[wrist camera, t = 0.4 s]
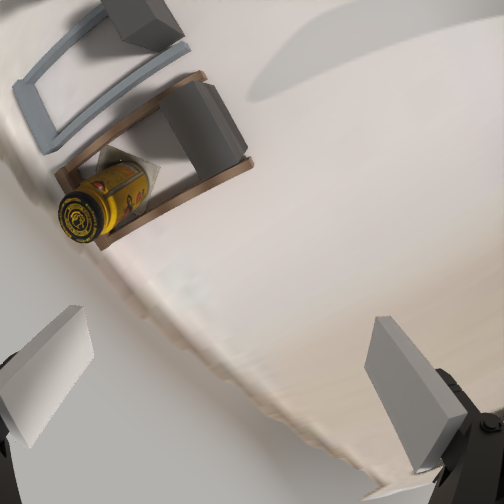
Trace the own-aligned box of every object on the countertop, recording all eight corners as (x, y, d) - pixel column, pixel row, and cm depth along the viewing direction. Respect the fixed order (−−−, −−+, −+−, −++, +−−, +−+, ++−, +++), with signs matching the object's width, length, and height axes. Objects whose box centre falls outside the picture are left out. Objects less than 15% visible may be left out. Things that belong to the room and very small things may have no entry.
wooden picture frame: (205, 70, 29) (181, 61, 21) (256, 163, 34) (249, 183, 26) (66, 168, 35) (24, 189, 27) (111, 241, 40) (78, 275, 32)
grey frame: (149, -21, 23) (116, -47, 15) (193, 49, 28) (165, 34, 20) (25, 85, 29) (-20, 91, 21) (57, 150, 34) (13, 167, 26)
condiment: (143, 217, 38) (98, 263, 28) (90, 192, 37) (36, 228, 26) (161, 166, 35) (114, 198, 24) (104, 142, 34) (44, 164, 23)
